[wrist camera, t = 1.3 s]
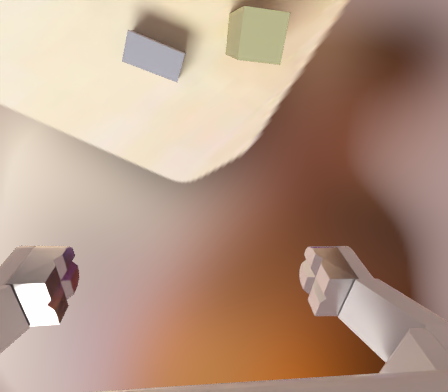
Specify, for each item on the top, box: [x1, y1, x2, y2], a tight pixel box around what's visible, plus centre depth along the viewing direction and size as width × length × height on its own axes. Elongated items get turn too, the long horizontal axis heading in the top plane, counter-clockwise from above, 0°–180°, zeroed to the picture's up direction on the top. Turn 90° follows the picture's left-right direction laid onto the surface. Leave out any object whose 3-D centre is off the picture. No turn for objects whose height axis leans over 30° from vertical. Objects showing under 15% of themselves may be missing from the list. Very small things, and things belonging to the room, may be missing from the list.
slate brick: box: [122, 30, 185, 82], centre depth 30 cm, size 6×3×3 cm, turn 69°
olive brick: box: [226, 6, 290, 65], centre depth 27 cm, size 4×4×9 cm
